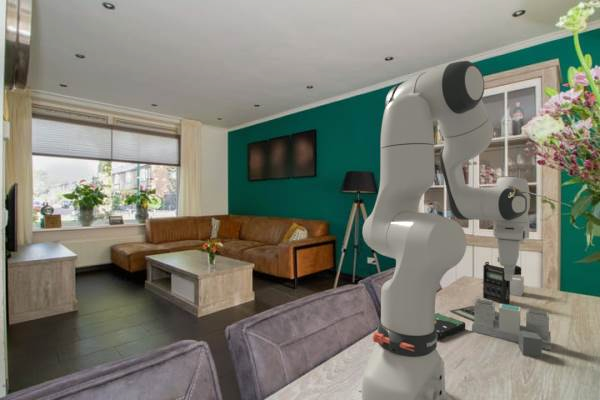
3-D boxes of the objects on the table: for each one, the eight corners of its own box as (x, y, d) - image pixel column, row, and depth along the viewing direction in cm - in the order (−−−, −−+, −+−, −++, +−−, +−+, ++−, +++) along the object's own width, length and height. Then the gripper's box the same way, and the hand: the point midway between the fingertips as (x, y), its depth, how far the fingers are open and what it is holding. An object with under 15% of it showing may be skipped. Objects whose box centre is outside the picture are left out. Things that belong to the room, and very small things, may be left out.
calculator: (508, 315, 105) (479, 322, 99) (508, 318, 105) (479, 325, 99) (477, 304, 116) (449, 310, 110) (477, 306, 116) (449, 312, 110)
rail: (550, 350, 82) (551, 317, 82) (472, 331, 94) (472, 302, 94) (550, 342, 87) (550, 310, 86) (475, 324, 98) (475, 297, 98)
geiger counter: (478, 297, 125) (479, 261, 125) (486, 296, 127) (486, 260, 127) (503, 305, 115) (504, 267, 115) (511, 304, 117) (512, 266, 117)
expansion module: (519, 335, 87) (519, 310, 87) (498, 330, 90) (499, 306, 90) (520, 330, 90) (520, 306, 90) (500, 325, 93) (500, 302, 93)
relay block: (541, 358, 78) (541, 339, 78) (523, 355, 80) (523, 336, 80) (536, 351, 82) (536, 333, 82) (518, 348, 83) (519, 330, 83)
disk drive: (438, 343, 87) (466, 330, 95) (438, 334, 87) (466, 322, 95) (408, 330, 96) (436, 319, 104) (408, 321, 96) (436, 311, 104)
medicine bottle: (523, 292, 131) (524, 265, 131) (521, 296, 126) (521, 268, 126) (504, 289, 136) (504, 263, 136) (501, 292, 131) (501, 265, 131)
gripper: (501, 227, 100) (500, 269, 100) (494, 232, 84) (493, 281, 84) (524, 229, 96) (523, 272, 96) (522, 234, 80) (521, 286, 80)
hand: (509, 277), depth 90 cm, fingers open, 8 cm apart
